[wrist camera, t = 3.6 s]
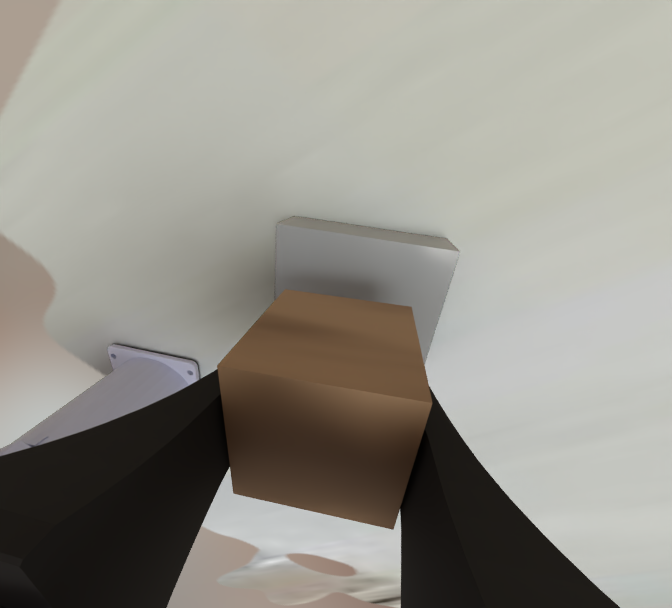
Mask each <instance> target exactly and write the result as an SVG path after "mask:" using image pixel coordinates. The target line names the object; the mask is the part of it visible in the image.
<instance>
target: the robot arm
mask: <svg viewBox="0 0 672 608" xmlns="http://www.w3.org/2000/svg"><path fill="white" fill-rule="evenodd" d="M107 351H108V354H109V358H110V361H111V364H112V368H113V372H111V373H110V374H108V375H107V376H105V377H104V378H103V379H101V380H100V381H98V382H97V383H96V384H94V385H93V386H92V387H90V388H89V389H87V390H86V391H84V392H83V393H82V394H80V395H79V396H77V397H76V398H74V399H73V400H72V401H70V402H69V403H67V404H66V405H65V406H63V407H62V408H60V409H59V410H58V411H56V412H55V413H53V414H52V415H51V416H49V417H48V418H46V419H45V420H43V421H42V422H41V423H39V424H38V425H36V426H35V427H34V428H32V429H31V430H29V431H28V432H27V433H25V434H24V435H22V436H21V437H20V438H18V439H17V440H15V441H14V442H13V443H11V444H10V445H7V446H5V447H3V448H1V449H0V608H166V607H167V605H168V602H169V600H170V597H171V595H172V592H173V590H174V588H175V585H176V583H177V580H178V578H179V576H180V573H181V571H182V569H183V566H184V564H185V562H186V559H187V557H188V555H189V552H190V550H191V548H192V545H193V543H194V541H195V539H196V536H197V534H198V532H199V530H200V527H201V525H202V523H203V521H204V518H205V516H206V514H207V512H208V510H209V508H210V505H211V503H212V501H213V499H214V497H215V495H216V493H217V490H218V488H219V486H220V484H221V482H222V480H223V478H224V476H225V474H226V472H227V471H228V469H229V467H230V462H229V454H228V447H227V439H226V431H225V423H224V415H223V407H222V400H221V392H220V384H219V376H218V369H217V370H215V371H214V372H212V373H210V374H209V375H207V376H205V377H203V378H201V379H200V380H199V372H198V366H197V364H196V363H195V362H194V361H192V360H187V359H182V358H177V357H173V356H168V355H163V354H158V353H154V352H149V351H144V350H139V349H135V348H130V347H125V346H120V345H116V344H112V345H110V346H108V347H107ZM429 389H430V387H429ZM430 394H431V399H432V406H431V410H430V413H429V416H428V419H427V423H426V426H425V429H424V432H423V435H422V439H421V442H420V445H419V448H418V452H417V455H416V458H415V461H414V465H413V468H412V471H411V474H410V477H409V481H408V484H407V487H406V490H405V494H404V497H403V500H402V503H401V506H400V512H401V608H620V607H619V606H618V605H617V604H615V603H614V602H613V601H612V600H611V599H610V598H609V597H608V596H607V595H605V594H604V593H603V592H602V591H601V590H600V589H599V588H598V587H597V586H596V585H595V584H593V583H592V582H591V581H590V580H589V579H588V578H587V577H586V576H585V575H584V574H583V573H582V572H581V571H580V570H579V569H578V568H577V567H576V566H575V565H574V564H573V563H572V562H571V561H570V560H569V559H568V558H566V557H565V556H564V555H563V554H562V553H561V552H560V551H559V550H558V549H557V548H556V547H555V546H554V545H553V544H552V543H551V542H550V541H549V540H548V539H547V538H546V537H545V536H544V535H543V534H542V533H541V531H540V530H539V529H538V528H537V527H536V526H535V525H534V524H533V523H532V522H531V521H530V520H529V519H528V518H527V517H526V515H525V514H524V513H523V512H522V511H521V510H520V509H519V508H518V507H517V506H516V505H515V504H514V503H513V501H512V500H511V499H510V498H509V497H508V496H507V495H506V494H505V492H504V491H503V490H502V489H501V488H500V486H499V485H498V484H497V483H496V482H495V480H494V479H493V478H492V477H491V476H490V475H489V473H488V472H487V471H486V470H485V468H484V467H483V466H482V465H481V463H480V462H479V461H478V460H477V458H476V457H475V456H474V454H473V453H472V451H471V450H470V449H469V447H468V446H467V445H466V443H465V442H464V440H463V439H462V438H461V436H460V435H459V433H458V432H457V430H456V429H455V427H454V426H453V424H452V423H451V421H450V420H449V418H448V417H447V415H446V413H445V412H444V410H443V409H442V407H441V405H440V404H439V402H438V400H437V399H436V397H435V395H434V394H433V392H432V390H431V389H430Z"/></svg>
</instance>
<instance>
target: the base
mask: <svg viewBox="0 0 672 608" xmlns="http://www.w3.org/2000/svg"><path fill="white" fill-rule="evenodd" d="M459 255H460V251H459V250H458V249H457V248H456V247H455V246H454V245H453V244H452V243H451V242H450V241H449V240H448V239H445V238H439V237H432V236H425V235H418V234H412V233H405V232H398V231H391V230H385V229H378V228H371V227H364V226H358V225H351V224H344V223H337V222H331V221H324V220H317V219H310V218H304V217H297V216H293V217H291V218H289V219H286V220H284V221H282V222H279V223H277V224H276V263H275V300H276V299H277V298H278V297H279V295H280V294H281V293H282V292H283V291H284V290H285V289H287V290H295V291H302V292H309V293H316V294H323V295H331V296H338V297H345V298H352V299H359V300H367V301H374V302H381V303H388V304H395V305H403V306H410V307H412V311H413V316H414V320H415V325H416V330H417V334H418V339H419V343H420V348H421V353H422V357H423V362H424V364H425V361H426V358H427V355H428V352H429V349H430V345H431V342H432V339H433V336H434V333H435V330H436V327H437V324H438V320H439V317H440V314H441V311H442V308H443V305H444V302H445V299H446V295H447V292H448V289H449V286H450V283H451V280H452V277H453V273H454V270H455V267H456V264H457V261H458V258H459Z"/></svg>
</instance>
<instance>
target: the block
mask: <svg viewBox="0 0 672 608" xmlns="http://www.w3.org/2000/svg"><path fill="white" fill-rule="evenodd" d="M217 368H218V376H219V384H220V392H221V400H222V407H223V415H224V423H225V431H226V439H227V447H228V454H229V462H230V470H231V478H232V486H233V493H234V494H238V495H242V496H247V497H251V498H256V499H260V500H265V501H269V502H273V503H278V504H282V505H287V506H291V507H296V508H300V509H304V510H309V511H313V512H318V513H322V514H327V515H331V516H335V517H340V518H344V519H349V520H353V521H358V522H362V523H367V524H371V525H375V526H380V527H384V528H389V529H394V526H395V523H396V519H397V516H398V513H399V510H400V506H401V503H402V500H403V497H404V494H405V490H406V487H407V484H408V481H409V477H410V474H411V471H412V468H413V465H414V461H415V458H416V455H417V452H418V448H419V445H420V442H421V439H422V435H423V432H424V429H425V426H426V423H427V419H428V416H429V413H430V410H431V406H432V399H431V394H430V389H429V385H428V380H427V376H426V371H425V366H424V362H423V357H422V353H421V348H420V343H419V339H418V334H417V330H416V325H415V320H414V316H413V311H412V307H410V306H403V305H395V304H388V303H381V302H374V301H367V300H359V299H352V298H345V297H338V296H331V295H323V294H316V293H309V292H302V291H295V290H287V289H285V290H284V291H283V292H282V293H281V294H280V295H279V297H278V298H277V299H276V300H275V301H274V302H273V303H272V304H271V306H270V307H269V308H268V309H267V310H266V311H265V312H264V313H263V315H262V316H261V317H260V318H259V319H258V320H257V321H256V322H255V324H254V325H253V326H252V327H251V328H250V329H249V330H248V331H247V333H246V334H245V335H244V336H243V337H242V338H241V339H240V340H239V342H238V343H237V344H236V345H235V346H234V347H233V348H232V349H231V351H230V352H229V353H228V354H227V355H226V356H225V357H224V359H223V360H222V361H221V362H220V363H219V364H218V365H217Z"/></svg>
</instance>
